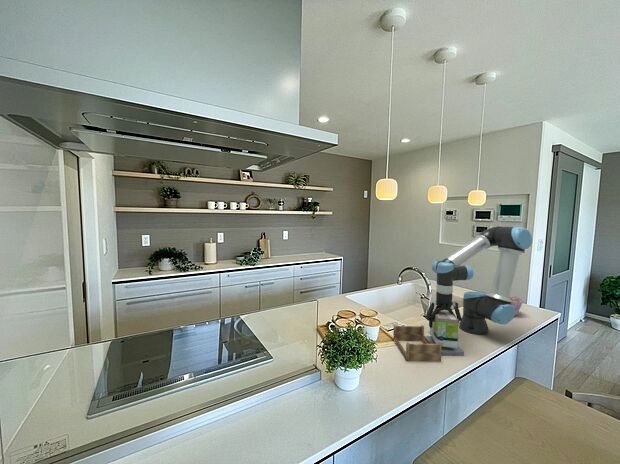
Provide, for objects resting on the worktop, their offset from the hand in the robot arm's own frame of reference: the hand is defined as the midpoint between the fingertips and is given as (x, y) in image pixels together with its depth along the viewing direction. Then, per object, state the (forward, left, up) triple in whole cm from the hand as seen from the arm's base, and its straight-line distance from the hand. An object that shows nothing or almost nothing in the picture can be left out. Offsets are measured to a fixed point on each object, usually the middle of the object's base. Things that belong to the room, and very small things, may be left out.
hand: (443, 333), depth 137 cm
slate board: (0, 0, -8) cm, 8 cm away
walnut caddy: (+15, +3, -8) cm, 17 cm away
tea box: (0, 0, -4) cm, 4 cm away
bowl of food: (-68, -49, -8) cm, 84 cm away
